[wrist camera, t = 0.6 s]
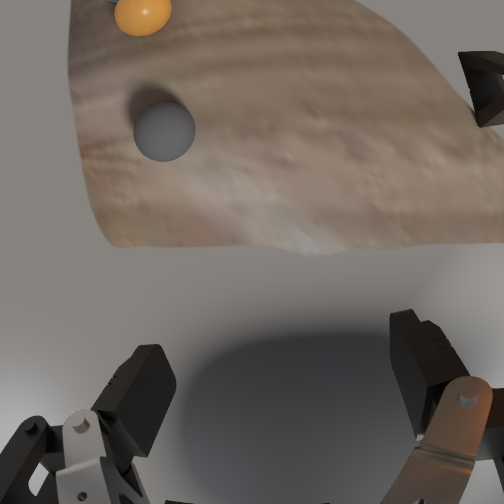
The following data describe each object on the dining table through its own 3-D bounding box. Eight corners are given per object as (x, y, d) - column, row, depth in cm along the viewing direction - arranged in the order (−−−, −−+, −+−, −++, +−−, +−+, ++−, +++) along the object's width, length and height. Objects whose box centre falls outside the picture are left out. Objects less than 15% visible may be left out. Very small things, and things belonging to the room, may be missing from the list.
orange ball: (127, 8, 26) (102, -8, 20) (175, -10, 25) (155, -32, 19) (133, 49, 28) (106, 37, 22) (183, 31, 27) (162, 14, 21)
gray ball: (144, 113, 31) (117, 110, 25) (196, 97, 30) (176, 89, 24) (155, 164, 33) (130, 171, 27) (207, 151, 32) (190, 155, 26)
